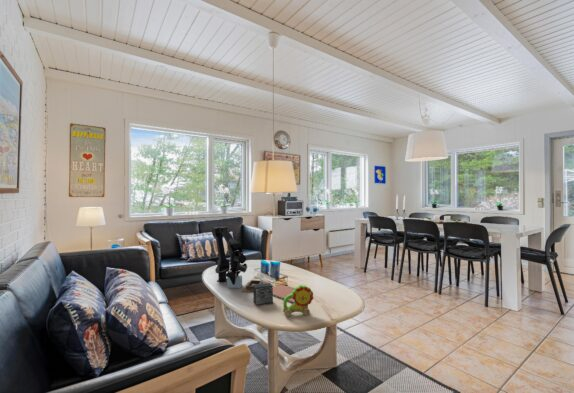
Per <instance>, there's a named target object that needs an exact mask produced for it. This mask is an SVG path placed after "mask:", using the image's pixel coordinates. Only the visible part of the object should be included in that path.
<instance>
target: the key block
mask: <svg viewBox="0 0 574 393" xmlns="http://www.w3.org/2000/svg"><path fill="white" fill-rule="evenodd" d="M226 278H227V281H226V282H227V288H230V289H231V288H232V289H236V288H237V289H241V288H242V287H243V275H237V276H236V279H235V285H233V284H232V282H231V280H230V278H229V277H226Z"/></svg>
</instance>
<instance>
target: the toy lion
mask: <svg viewBox="0 0 574 393" xmlns="http://www.w3.org/2000/svg"><path fill="white" fill-rule="evenodd" d="M289 299H294V301H295V303H294V304H293V303H291V304H290V306H287V304H288V300H289ZM312 301H314V292H313V290H311V288H310V287H309V286H306V285H302V284H300V285H298V286H296V287H294V290H293V291H292V293H291V294H289V295H287V296H286V297H285V299H284V300H283V313H284V316H285V317H286V318H289V317H291V316H292V314H293V313H296V312H297V313H302V315H304V316H306V317H307V316H309V315H310V313H311V311H310V309H309V305H311V304H312Z"/></svg>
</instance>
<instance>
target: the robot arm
mask: <svg viewBox="0 0 574 393" xmlns="http://www.w3.org/2000/svg"><path fill="white" fill-rule="evenodd" d="M211 234H212V237H213V238H214V239H215V242H216V243H215V244H216V248H217V255H218V260H217V266H216V268H215V269H214V270H215V273H216V274H218V276H217V277H218V279H217V280H216V282H219V283H220V282H223V283H224V282H225V283H226V282H227V277H229V278H230V280H231V282H232V284H233V285H235V279H236V276H237V275H238V276H240V273H246V272H247V269H248V264H247V263H246V262H247V257H246V256H245V255H244V251H243V248H242V246H241V244H240V242H239V241H238V240H236V239H234V237H233V236H232V234H231V233H230V231H229V229H228V227H227V226H218V227H217V226H215V227H212V229H211ZM224 239H225V242H226V243H227V249H228V251H229V252H228V253H229V256H230V260H229V259H228V258H227V257H226V250H225V245H224Z"/></svg>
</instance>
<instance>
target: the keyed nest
mask: <svg viewBox="0 0 574 393" xmlns="http://www.w3.org/2000/svg"><path fill="white" fill-rule="evenodd" d="M265 283H268V282H266V281H263V280H262V279H261V280H260V279H259V280H257V279H253V280H252V279H251V280H250V281H247V283H246V284H245V286H244V287H243V288H242V289H241V293H253V285H257V284H265Z"/></svg>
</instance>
